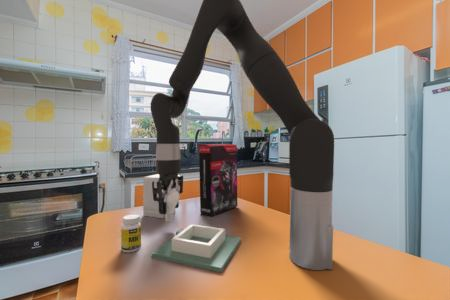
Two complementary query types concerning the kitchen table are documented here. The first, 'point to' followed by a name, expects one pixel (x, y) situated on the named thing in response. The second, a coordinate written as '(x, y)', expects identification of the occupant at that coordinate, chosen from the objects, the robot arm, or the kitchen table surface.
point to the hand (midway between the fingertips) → (169, 210)
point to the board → (199, 247)
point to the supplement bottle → (131, 233)
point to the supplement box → (150, 198)
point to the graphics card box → (217, 178)
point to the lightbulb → (171, 204)
